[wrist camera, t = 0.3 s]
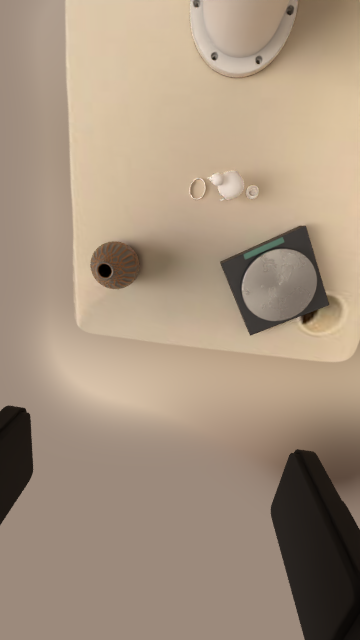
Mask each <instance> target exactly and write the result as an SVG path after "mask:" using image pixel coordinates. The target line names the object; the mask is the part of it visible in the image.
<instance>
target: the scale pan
mask: <svg viewBox="0 0 360 640" xmlns="http://www.w3.org/2000/svg"><path fill="white" fill-rule="evenodd" d="M316 286H317V276H316V271H315V269H314V266H313V265H312V263H311V262H310V260H309V259H308V258H307V257H306V256H304V255H303V254H302V253H300V252H297V251H295V250H291V249H284V248H280V249H273V250H270V251H267V252H265V253H263V254H261V255H259V256H258V257H257V258H255V259H254V260H253V261H252V262H251V263H250V265H249V266H248V267H247V269H246V271H245V273H244V275H243V278H242V283H241V293H242V297H243V300H244V302H245V304H246V306H247V307H248V309H249V310H250V311H251V312H252V313H253V314H254V315H256V316H258V317H260V318H262V319H265V320H269V321H281V320H286V319H289V318H292V317H294V316H296V315H297V314H299V313H300V312H301V311H303V310H304V309H305V308H306V307H307V306H308V304H309V303H310V302H311V300H312V298H313V296H314V294H315V291H316Z"/></svg>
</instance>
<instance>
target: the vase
mask: <svg viewBox="0 0 360 640" xmlns="http://www.w3.org/2000/svg"><path fill="white" fill-rule="evenodd" d="M91 271H92V274H93V276H94V278H95V279H96V280H97V281H98V282H99V283H100V284H101V285H103V286H105V287H107V288H111V289H121V288H124V287H126V286H128V285H130V284H131V283H132V282H133V281H134V280H135V279H136V277H137V275H138V272H139V259H138V257H137V255H136V253H135V251H134V250H133V249H132V248H131V247H129V246H128V245H126V244H124V243H121V242H108V243H105V244H103V245H101V246H100V247H98V248H97V249H96V251H95V252H94V254H93V256H92V258H91Z"/></svg>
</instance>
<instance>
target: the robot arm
mask: <svg viewBox="0 0 360 640" xmlns="http://www.w3.org/2000/svg"><path fill="white" fill-rule="evenodd" d="M297 4H298V0H190V26H191V31H192V37H193V40H194V42H195V45H196V48H197V50H198V52H199V53H200V55H201V57H202V58H203V60H204V61H205V62H206V63H207V64H208V66H210V67H211V68H212V69H213V70H215V71H216V72H218V73H220V74H222V75H224V76H229V77H246V76H249V75H253V74H255V73H257V72H259V71H261V70H262V69H264V68H265V67H266V66H267V65H269V64H270V63H271V62H272V61H273V60H274V58H275V57H276V56H277V55H278V54H279V52H280V51H281V49H282V48H283V46H284V44H285V42H286V40H287V38H288V36H289V34H290V32H291V29H292V26H293V24H294V21H295V16H296V12H297ZM195 7H198V8H195ZM287 14H289V15H287ZM214 58H215V59H216V60H215V61H213V60H212V59H214ZM256 62H259V64H256ZM32 473H33V458H32V439H31V420H30V414H29V413H27V412H26V409H25V408H21V407H14V406H6V407H4V408H3V409H2V410H1V411H0V524H1V523H2V521H3V520H4V518H5V517H6V515H7V514H8V512H9V511H10V509H11V508H12V506H13V505H14V503H15V502H16V500H17V499H18V497H19V496H20V494H21V493H22V491H23V490H24V488H25V487H26V485H27V483H28V482H29V480H30V478H31V476H32ZM271 517H272V521H273V525H274V528H275V532H276V536H277V539H278V543H279V546H280V550H281V554H282V558H283V561H284V565H285V569H286V572H287V576H288V580H289V583H290V587H291V591H292V594H293V598H294V601H295V605H296V609H297V613H298V616H299V620H300V624H301V627H302V631H303V635H304V638H305V640H360V529H359V528H358V526H357V524H356V522H355V521H354V519H353V517H352V515H351V513H350V512H349V510H348V508H347V506H346V505H345V503H344V502H343V501H342V500H341V498H340V496H339V495H338V493H337V491H336V489H335V487H334V486H333V484H332V482H331V480H330V478H329V477H328V475H327V473H326V471H325V469H324V467H323V466H322V464H321V462H320V460H319V458H318V456H317V455H316V453H314V452H311V451H305V450H298V449H297V450H296V451H295V452H294V453H291V454H290V455H289V458H288V461H287V463H286V466H285V469H284V472H283V474H282V477H281V480H280V483H279V486H278V488H277V491H276V494H275V497H274V500H273V502H272V505H271Z"/></svg>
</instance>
